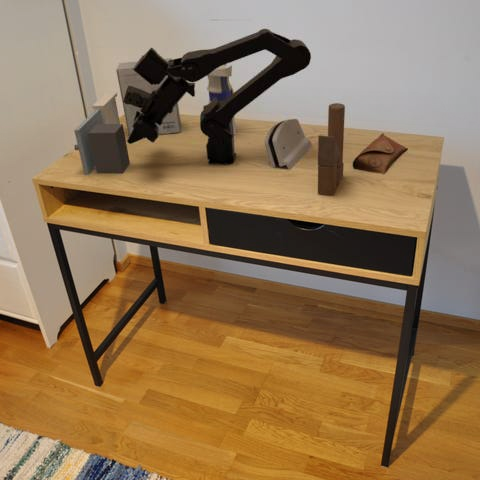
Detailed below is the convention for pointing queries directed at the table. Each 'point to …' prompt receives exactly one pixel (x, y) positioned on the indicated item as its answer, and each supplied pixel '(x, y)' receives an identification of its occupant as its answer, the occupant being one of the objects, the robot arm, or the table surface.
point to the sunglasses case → (378, 155)
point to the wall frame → (108, 108)
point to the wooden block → (331, 151)
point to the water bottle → (221, 87)
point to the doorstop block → (109, 148)
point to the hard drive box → (133, 79)
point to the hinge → (286, 143)
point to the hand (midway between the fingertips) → (128, 142)
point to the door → (87, 140)
